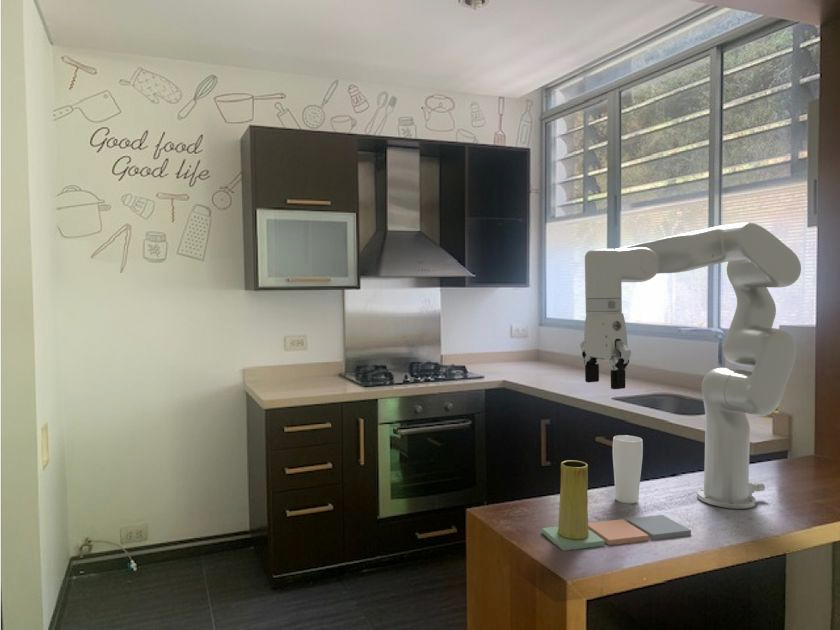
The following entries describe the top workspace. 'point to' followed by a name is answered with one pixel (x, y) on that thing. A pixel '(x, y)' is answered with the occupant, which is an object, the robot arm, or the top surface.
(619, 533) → the terracotta coaster
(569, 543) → the green coaster
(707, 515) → the top surface
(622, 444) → the drinking glass
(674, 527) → the grey coaster
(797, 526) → the top surface
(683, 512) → the top surface
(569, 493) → the vase
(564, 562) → the top surface
